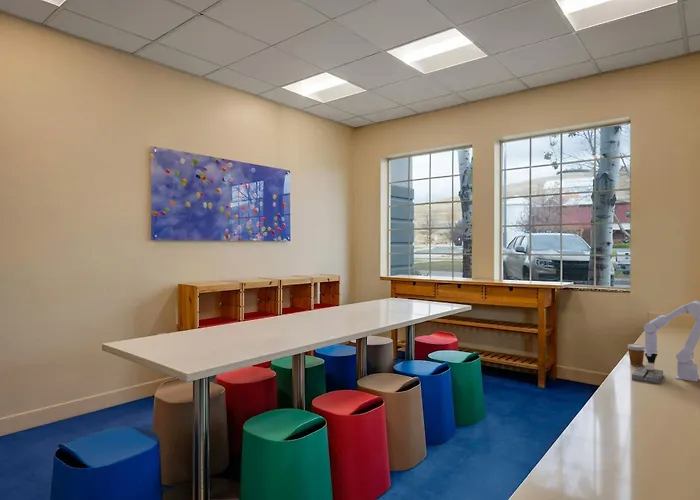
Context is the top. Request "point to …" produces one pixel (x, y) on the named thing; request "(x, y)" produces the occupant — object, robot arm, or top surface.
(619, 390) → the top surface
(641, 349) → the disposable coffee cup
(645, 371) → the fader console
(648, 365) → the fader tab
